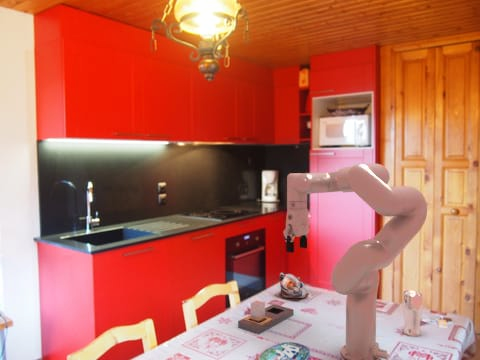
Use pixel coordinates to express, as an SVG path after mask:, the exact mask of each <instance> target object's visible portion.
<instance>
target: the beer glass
mask: <svg viewBox="0 0 480 360" xmlns="http://www.w3.org/2000/svg"><path fill="white" fill-rule="evenodd" d="M402 292H403V293H402V301H401V302H402V313H403V318H404V325H403V333H404V334H405V335H407V336H410V337H420V336H422V331H421V320H422V315H423V308H424V307H423V304H424V301H423V294H422V292H419V291H416V290H404V291H402Z"/></svg>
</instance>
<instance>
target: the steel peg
mask: <svg viewBox="0 0 480 360" xmlns="http://www.w3.org/2000/svg"><path fill="white" fill-rule="evenodd" d="M265 308H266V302H265V301H261V300H255V301H252V302H250V315H251V321H254V322H257V323H261V322H263V321H265Z"/></svg>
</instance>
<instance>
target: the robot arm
mask: <svg viewBox="0 0 480 360" xmlns="http://www.w3.org/2000/svg"><path fill="white" fill-rule="evenodd" d="M286 181H287V182H286V183H287V184H286V186H287V187H286V191H287V193H286V198H287V200H286V218H285V219H286V220H285V229H284V230H283V231H282V233H283V237H284V239H285V240H284V241H285V253H295V242H294V240H295V237H299V248H301V249H308V238H309V233H310V221H309V219H310V217H309V213H308V212H309V211H308V195H309V194H310V195H312V194H324V193H338V192H342V193H355V194H356V195H357V196H358V197H360V199H361V200H362V201H364V202H365V204H366V205H368V206H369V207H370V208H371V209H372V210H373V211H374V212H375V213H377V214H378V215H381V216H383V217H390V220H388V221H387V222H386V223H385V224H384V225H383V226H382V228H381V229H380V230H379V231H378V232H377V233H376V235H374V237H372V238H369V239H364V240H361V241H358V242H356V243H354V244H352V246H350V247H349V248H348V249H347V250H346V252H345V253H344V254H343V255H342V257H341V258H340V259H339V260H338V262H337V263H336V264H335V265H334V266H333V269H332V271H331V273H330V279H329V280H330V284H331V288H332V289H333V291H335V292H336V293H338V294H339V295H343V296H346V298H345V299H346V300H345V345H343V346H342V347H341V348H340V354H341V356H342V357H343V359H346V360H381V359H383V360H388V359H389V355H390V354H389V353H388V350H387V349H383V348H380V344H379V342H377V334H376V333H377V299H378V298H377V296H378V289H379V285H380V271H379V270H383V269H385V268H388V267H389V266H390V265H391V264H392V263H393V262H394V261H395V259H396V258H397V257H398V256H399V255H400V254H401V253H402V252H403V251H404V249H405V248H406V247H407V246H408V245H409V243H410V242H412V240H413V239H414V238H415V237H416V236H417V234H419V232H420V231H421V229H422V227H423V226H424V225H425V222H426V221H427V220H426V219H427V216H428V205H427V204H428V203H427V201H426V198H425V196H424V194H423V193H422V192H421V191H420V190H419V189H417V188H416V187H413V186H407V185H401V186H400V185H399V186H390V185H389V181H390V172H389V170H388V168H387V167H385V165H382V164H380V163H357V164H354V165H352V166H343V167H341V168H339V169H338V170H337V171H336V170H335V171H329V172H305V173H303V172H302V173H300V172H297V173H291V172H290V173H289V174H287V177H286ZM391 217H392V218H391Z"/></svg>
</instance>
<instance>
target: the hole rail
mask: <svg viewBox="0 0 480 360" xmlns="http://www.w3.org/2000/svg"><path fill="white" fill-rule="evenodd" d="M293 316H294V309H293V308H289V307H287V306H286V307H285V306H282V305H278V304H274V303H273V304H270V305H269V306H267V307H265V321H263V322H261V323H257V322H254V321H251V314H250V315H248V316H246V317H244V318H241V319H240V320H238V321H237V327H238V328H237V329H241V330H245V331H247V332H250V333H254V334H256V335H261V334H263V333H264V332H266V331H267V330H270V329H272V328H273V327H275V326H277V325H279V324H281V323H283V322H284V321H286V320H288V319H291V317H293Z"/></svg>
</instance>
